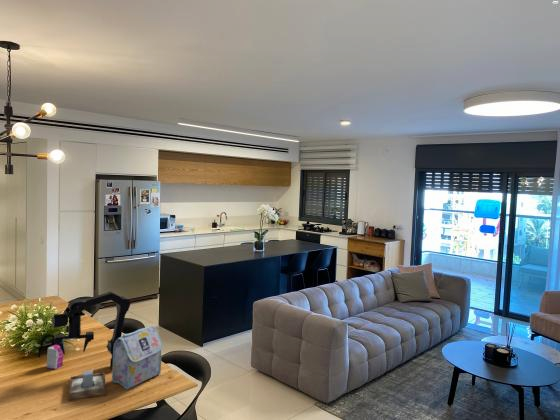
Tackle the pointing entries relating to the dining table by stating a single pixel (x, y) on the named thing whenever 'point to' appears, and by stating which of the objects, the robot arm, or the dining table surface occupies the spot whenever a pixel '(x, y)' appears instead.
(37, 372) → the dining table surface
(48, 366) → the supplement box
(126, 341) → the lunch bag
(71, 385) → the shallow tray
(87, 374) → the peg
